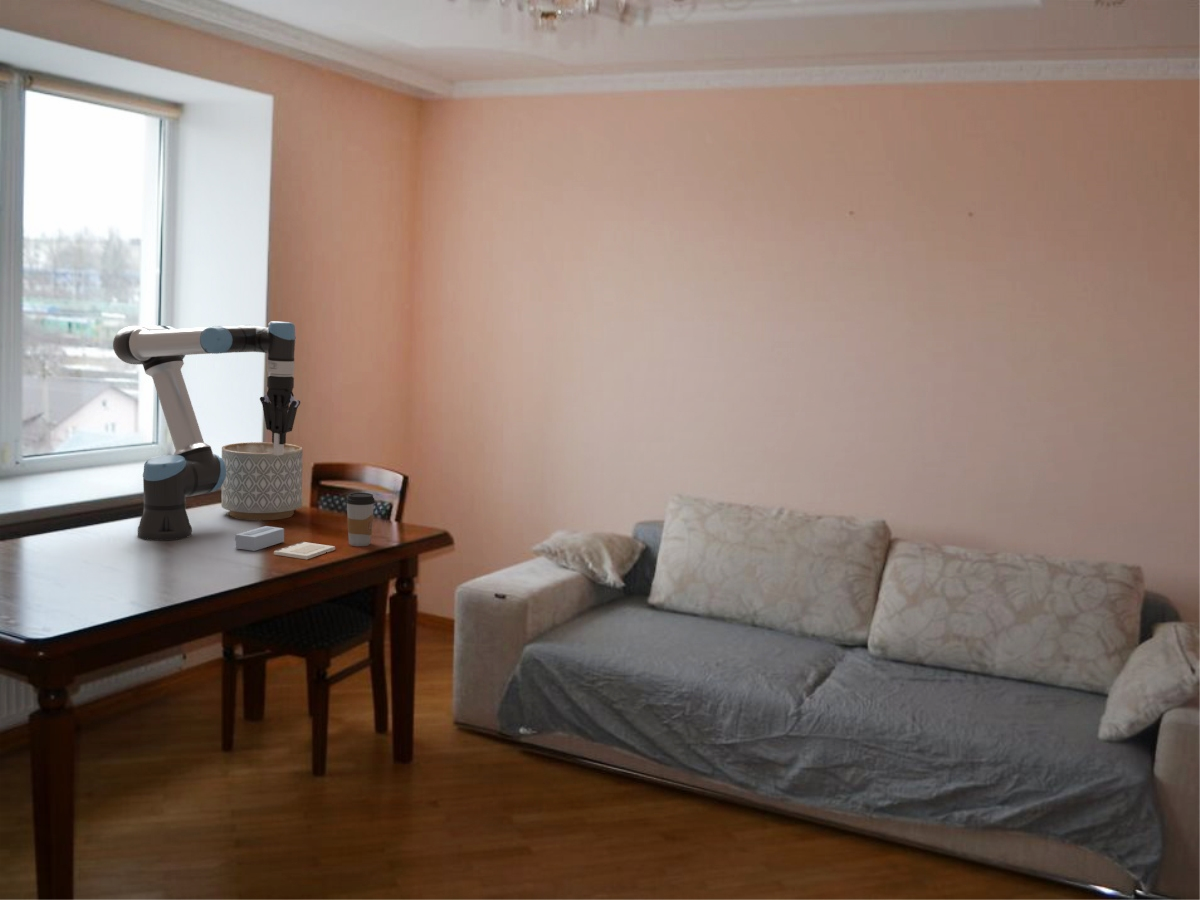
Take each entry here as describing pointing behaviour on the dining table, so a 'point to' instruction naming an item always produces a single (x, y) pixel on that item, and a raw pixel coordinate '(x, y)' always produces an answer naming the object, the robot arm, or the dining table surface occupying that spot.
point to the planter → (261, 481)
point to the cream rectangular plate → (304, 550)
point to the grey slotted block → (259, 538)
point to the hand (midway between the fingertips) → (278, 454)
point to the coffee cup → (360, 518)
